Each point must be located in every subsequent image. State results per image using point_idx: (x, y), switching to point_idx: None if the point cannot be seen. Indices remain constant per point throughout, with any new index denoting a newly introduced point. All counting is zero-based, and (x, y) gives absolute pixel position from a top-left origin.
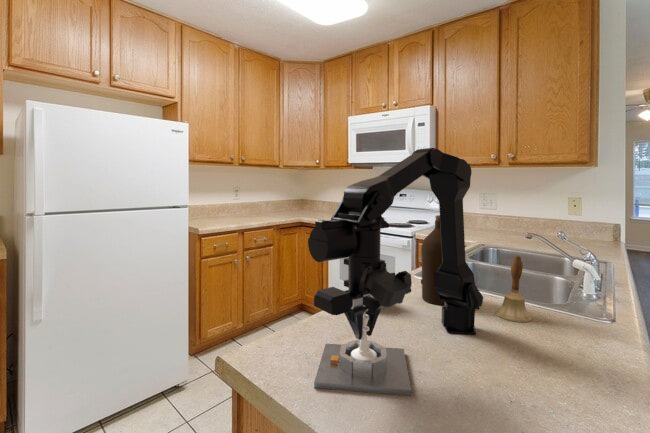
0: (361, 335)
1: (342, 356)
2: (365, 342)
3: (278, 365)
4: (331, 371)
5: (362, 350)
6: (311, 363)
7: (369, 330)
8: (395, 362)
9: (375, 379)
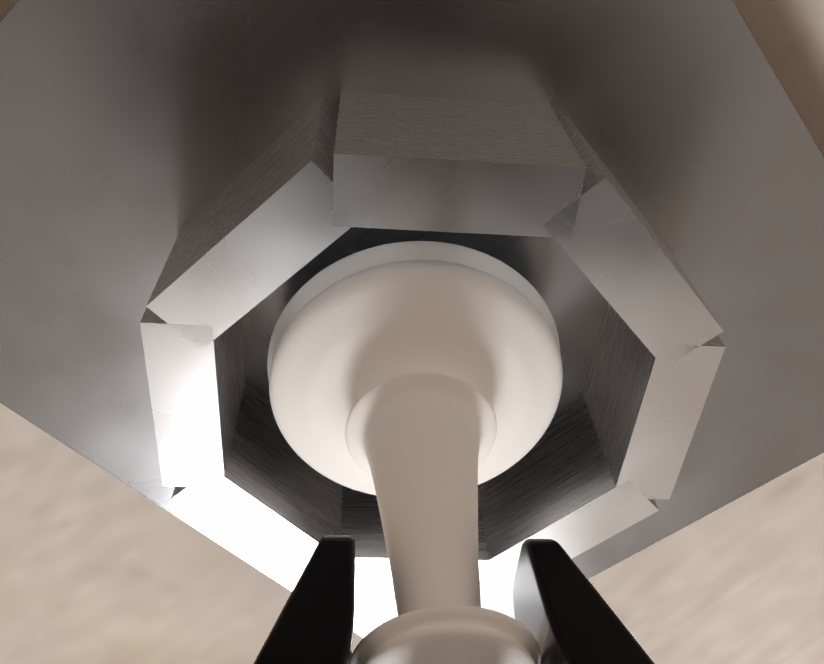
0: (548, 582)
1: (679, 466)
2: (447, 479)
3: (812, 641)
4: (726, 407)
5: (473, 419)
6: (652, 562)
7: (351, 611)
8: (101, 138)
9: (567, 58)
